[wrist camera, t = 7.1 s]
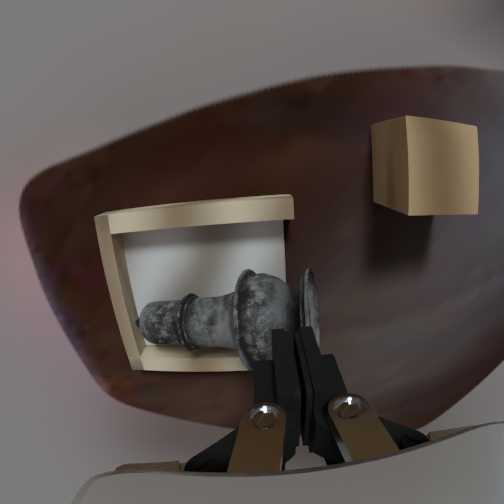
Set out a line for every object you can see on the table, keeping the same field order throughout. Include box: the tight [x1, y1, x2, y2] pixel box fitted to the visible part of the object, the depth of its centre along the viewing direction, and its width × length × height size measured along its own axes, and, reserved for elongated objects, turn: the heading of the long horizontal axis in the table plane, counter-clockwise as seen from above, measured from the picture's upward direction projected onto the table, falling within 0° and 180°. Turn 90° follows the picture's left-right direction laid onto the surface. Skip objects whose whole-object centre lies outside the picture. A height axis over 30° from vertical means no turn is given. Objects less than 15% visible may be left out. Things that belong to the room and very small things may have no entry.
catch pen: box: [94, 194, 294, 372], centre depth 19 cm, size 12×11×2 cm
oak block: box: [370, 116, 479, 216], centre depth 15 cm, size 5×5×5 cm
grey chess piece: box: [134, 268, 319, 371], centre depth 18 cm, size 6×6×12 cm
